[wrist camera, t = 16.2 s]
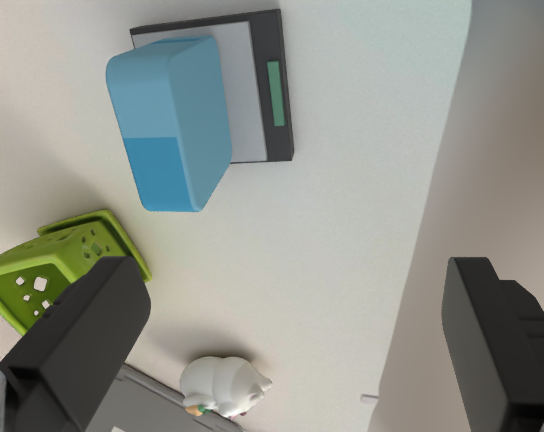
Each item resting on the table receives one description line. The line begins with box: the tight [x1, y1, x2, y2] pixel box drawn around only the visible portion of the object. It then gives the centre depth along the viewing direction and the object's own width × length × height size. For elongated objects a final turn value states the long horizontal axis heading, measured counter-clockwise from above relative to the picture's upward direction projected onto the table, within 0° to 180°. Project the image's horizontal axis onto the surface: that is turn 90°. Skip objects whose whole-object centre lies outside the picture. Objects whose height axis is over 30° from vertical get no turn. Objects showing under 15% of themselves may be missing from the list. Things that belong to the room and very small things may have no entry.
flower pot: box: [0, 209, 152, 336], centre depth 49 cm, size 14×14×13 cm
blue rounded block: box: [106, 35, 232, 212], centre depth 33 cm, size 12×4×12 cm, turn 5°
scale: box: [130, 9, 294, 164], centre depth 39 cm, size 14×14×3 cm
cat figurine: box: [180, 356, 272, 420], centre depth 60 cm, size 10×8×15 cm
